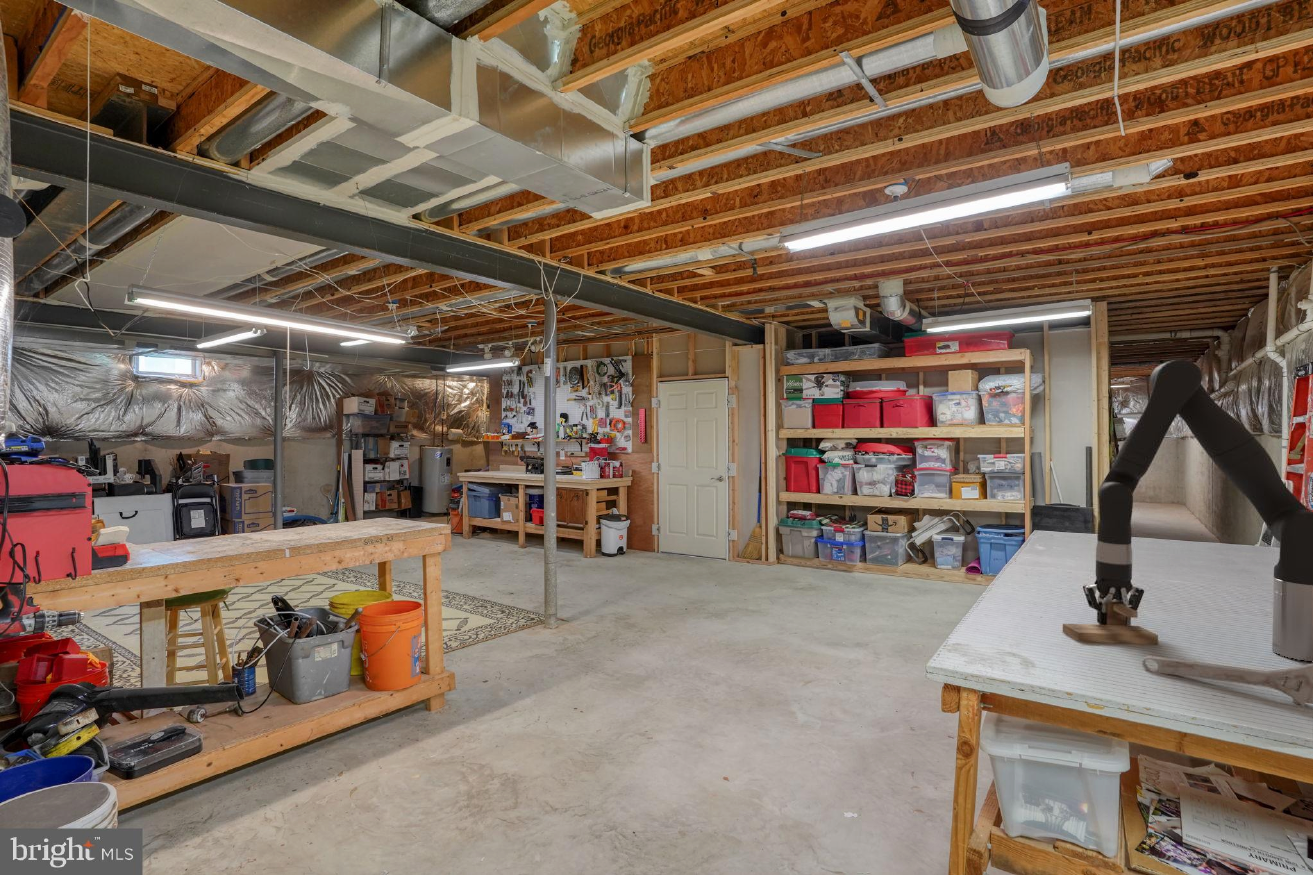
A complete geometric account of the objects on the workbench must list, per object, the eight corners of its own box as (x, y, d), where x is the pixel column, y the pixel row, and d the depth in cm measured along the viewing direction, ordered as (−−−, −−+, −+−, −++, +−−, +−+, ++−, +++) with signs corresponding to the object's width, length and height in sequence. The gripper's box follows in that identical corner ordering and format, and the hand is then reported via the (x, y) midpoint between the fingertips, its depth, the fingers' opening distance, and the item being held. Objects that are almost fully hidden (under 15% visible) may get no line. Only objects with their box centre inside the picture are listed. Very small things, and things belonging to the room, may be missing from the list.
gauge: (1115, 626, 162) (1116, 600, 162) (1141, 640, 152) (1142, 611, 152) (1099, 626, 163) (1099, 599, 163) (1123, 639, 153) (1124, 611, 153)
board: (1138, 634, 157) (1138, 625, 157) (1157, 644, 150) (1158, 634, 150) (1062, 632, 159) (1062, 623, 159) (1078, 641, 152) (1078, 632, 152)
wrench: (1146, 681, 136) (1351, 711, 114) (1144, 683, 135) (1351, 714, 113) (1141, 643, 137) (1344, 666, 115) (1139, 645, 135) (1344, 669, 113)
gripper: (1092, 562, 157) (1091, 630, 157) (1153, 563, 156) (1152, 632, 156) (1075, 556, 165) (1074, 620, 165) (1133, 557, 163) (1132, 622, 164)
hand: (1112, 626), depth 161 cm, fingers closed on gauge, 4 cm apart
